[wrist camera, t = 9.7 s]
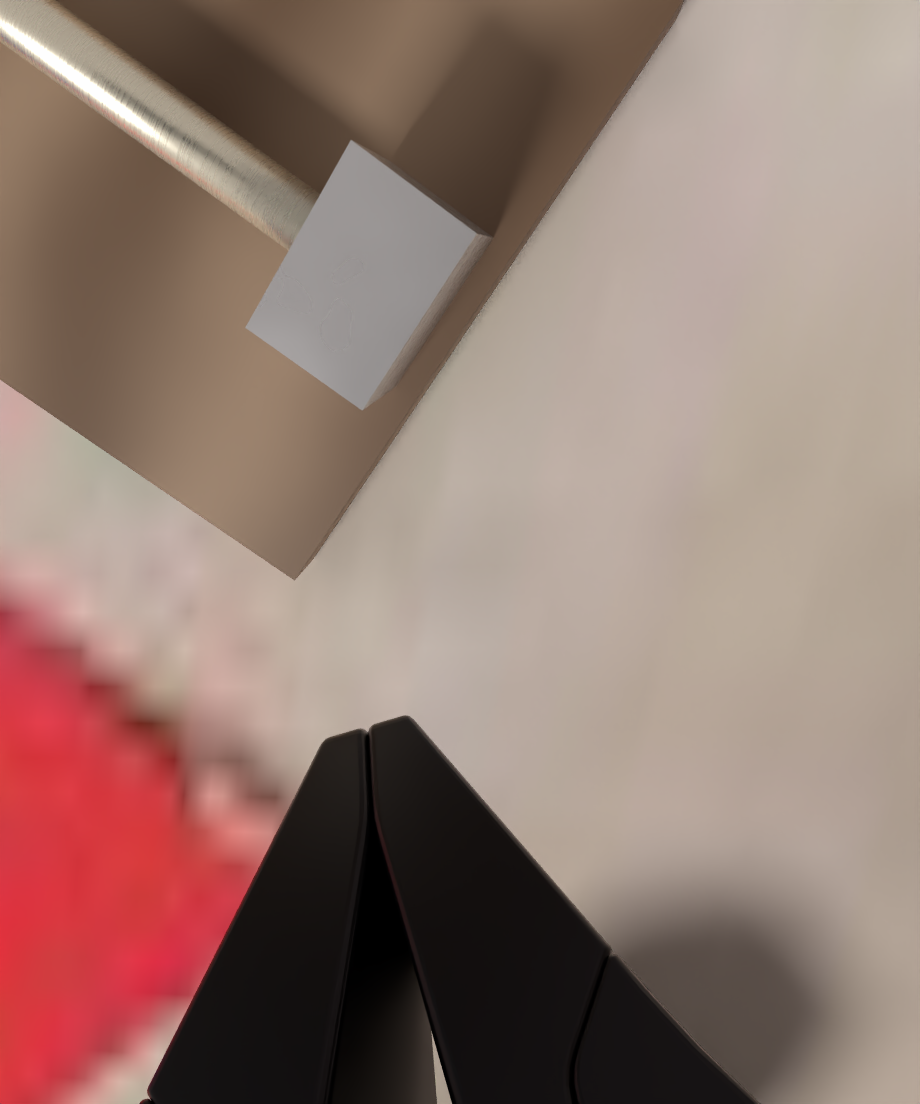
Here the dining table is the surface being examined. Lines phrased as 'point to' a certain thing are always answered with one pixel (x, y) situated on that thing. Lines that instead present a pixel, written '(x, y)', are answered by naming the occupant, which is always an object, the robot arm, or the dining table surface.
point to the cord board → (252, 256)
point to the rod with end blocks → (284, 213)
